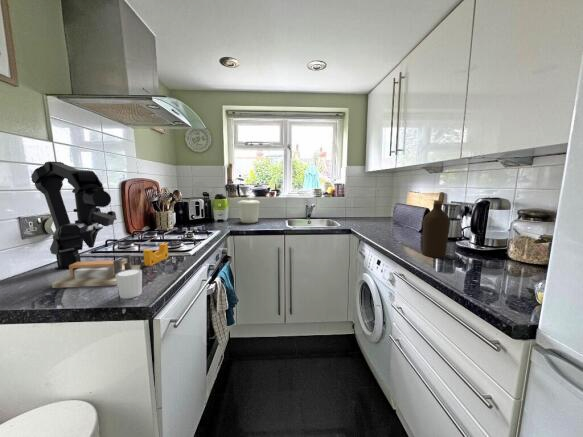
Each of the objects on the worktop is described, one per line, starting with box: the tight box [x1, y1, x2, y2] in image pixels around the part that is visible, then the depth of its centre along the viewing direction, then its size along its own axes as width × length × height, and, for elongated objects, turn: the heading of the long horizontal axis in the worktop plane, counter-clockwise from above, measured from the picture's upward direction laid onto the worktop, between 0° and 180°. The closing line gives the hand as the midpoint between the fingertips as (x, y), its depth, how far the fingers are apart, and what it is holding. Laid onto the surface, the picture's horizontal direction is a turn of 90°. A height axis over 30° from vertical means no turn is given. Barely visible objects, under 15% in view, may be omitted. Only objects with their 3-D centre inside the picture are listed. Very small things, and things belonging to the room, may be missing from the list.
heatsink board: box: [51, 254, 141, 289], centre depth 92 cm, size 20×16×7 cm
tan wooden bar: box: [68, 257, 128, 275], centre depth 92 cm, size 17×5×4 cm, turn 96°
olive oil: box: [421, 199, 451, 259], centre depth 116 cm, size 11×11×25 cm
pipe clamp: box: [143, 242, 169, 267], centre depth 110 cm, size 12×4×6 cm, turn 172°
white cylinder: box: [115, 269, 143, 299], centre depth 78 cm, size 7×7×7 cm
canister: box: [237, 196, 261, 224], centre depth 206 cm, size 18×18×21 cm
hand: (91, 247), depth 95 cm, fingers closed
